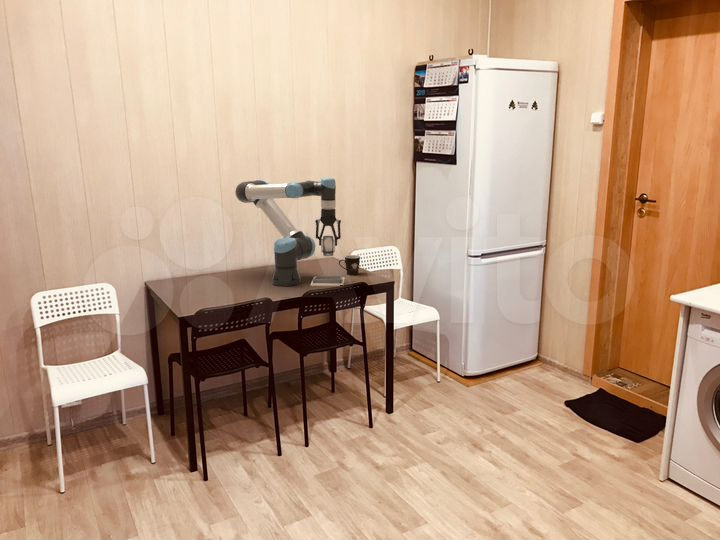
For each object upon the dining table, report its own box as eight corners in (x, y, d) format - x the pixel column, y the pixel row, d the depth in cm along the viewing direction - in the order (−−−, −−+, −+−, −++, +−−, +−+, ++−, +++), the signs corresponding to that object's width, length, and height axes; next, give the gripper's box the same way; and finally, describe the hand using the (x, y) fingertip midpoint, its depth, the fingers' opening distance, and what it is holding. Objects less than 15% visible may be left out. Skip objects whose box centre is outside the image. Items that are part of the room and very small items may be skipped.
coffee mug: (360, 272, 328) (360, 255, 326) (359, 275, 320) (359, 258, 318) (340, 271, 329) (340, 254, 327) (338, 275, 321) (338, 258, 319)
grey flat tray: (310, 285, 299) (310, 281, 298) (313, 278, 315) (313, 274, 314) (343, 285, 299) (342, 281, 298) (344, 278, 314) (344, 274, 314)
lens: (322, 256, 301) (322, 237, 298) (323, 253, 306) (323, 235, 304) (333, 256, 301) (333, 237, 298) (333, 254, 306) (334, 235, 304)
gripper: (309, 208, 294) (309, 253, 299) (346, 209, 294) (345, 253, 299) (310, 207, 301) (311, 250, 307) (346, 207, 301) (346, 250, 307)
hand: (328, 251), depth 303 cm, fingers closed on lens, 6 cm apart
